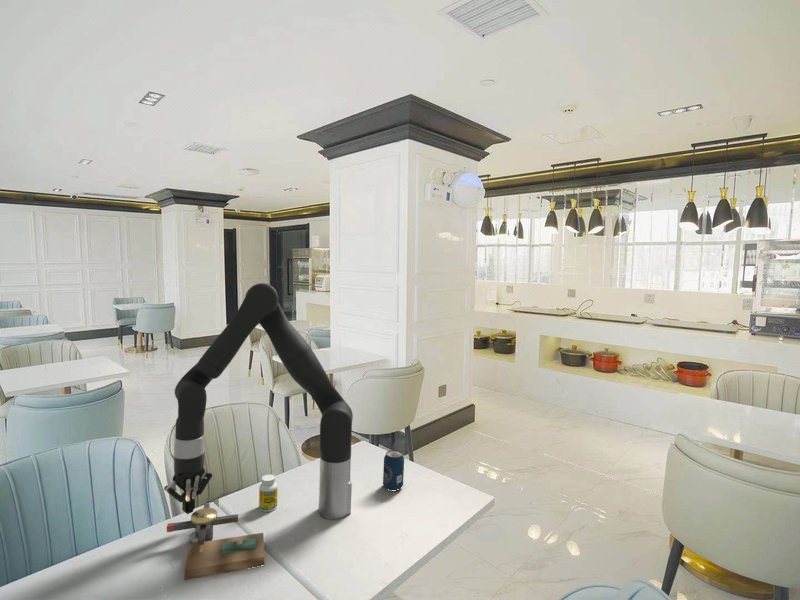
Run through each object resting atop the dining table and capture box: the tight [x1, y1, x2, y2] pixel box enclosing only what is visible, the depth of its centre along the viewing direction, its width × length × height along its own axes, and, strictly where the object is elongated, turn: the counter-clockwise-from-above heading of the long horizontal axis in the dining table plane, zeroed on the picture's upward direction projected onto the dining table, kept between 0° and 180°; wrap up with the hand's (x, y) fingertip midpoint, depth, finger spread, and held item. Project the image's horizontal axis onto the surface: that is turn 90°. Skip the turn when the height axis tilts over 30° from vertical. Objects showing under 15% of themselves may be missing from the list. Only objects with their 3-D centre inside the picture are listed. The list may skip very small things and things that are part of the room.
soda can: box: [382, 449, 405, 490], centre depth 149 cm, size 7×7×12 cm
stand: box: [183, 532, 266, 581], centre depth 110 cm, size 18×10×5 cm, turn 109°
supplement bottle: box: [258, 474, 279, 513], centre depth 134 cm, size 5×5×10 cm
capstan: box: [166, 502, 239, 545], centre depth 117 cm, size 17×17×7 cm
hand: (188, 512), depth 121 cm, fingers closed
